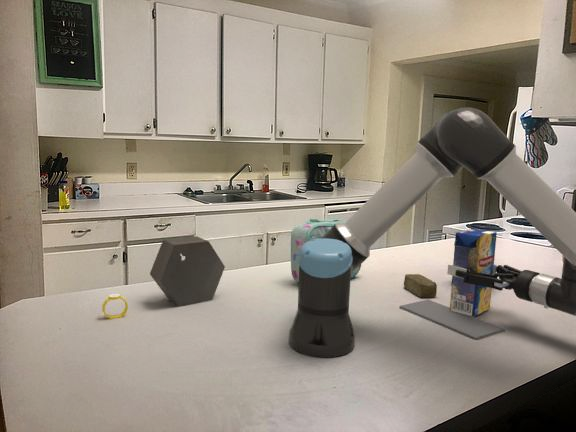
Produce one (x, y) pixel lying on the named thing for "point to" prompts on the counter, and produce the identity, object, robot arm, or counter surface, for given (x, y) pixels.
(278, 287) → the counter surface
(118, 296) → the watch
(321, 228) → the lunch box
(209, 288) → the planter
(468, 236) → the beverage box
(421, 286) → the stone block
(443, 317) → the mat
